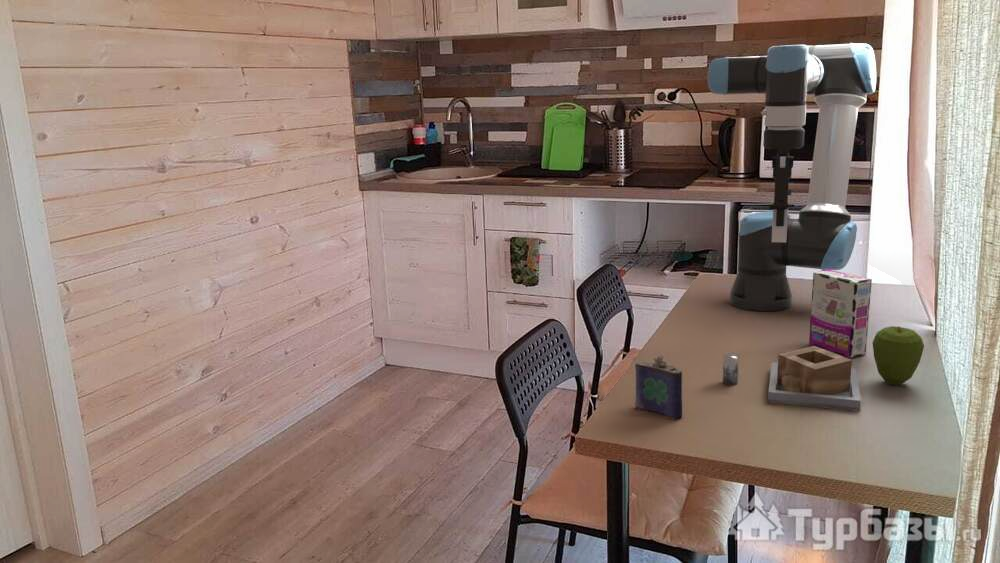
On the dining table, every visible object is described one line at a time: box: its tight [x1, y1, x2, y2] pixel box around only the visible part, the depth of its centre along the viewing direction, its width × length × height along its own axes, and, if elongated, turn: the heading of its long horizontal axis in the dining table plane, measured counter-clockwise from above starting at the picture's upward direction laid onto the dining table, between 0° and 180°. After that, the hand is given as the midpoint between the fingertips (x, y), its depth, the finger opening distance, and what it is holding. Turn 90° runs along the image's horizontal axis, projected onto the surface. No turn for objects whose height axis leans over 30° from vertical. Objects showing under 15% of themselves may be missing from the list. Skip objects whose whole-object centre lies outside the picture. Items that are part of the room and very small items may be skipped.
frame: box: [777, 345, 853, 395], centre depth 148 cm, size 9×11×6 cm
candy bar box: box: [808, 269, 873, 359], centre depth 167 cm, size 11×5×16 cm, turn 27°
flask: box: [635, 355, 683, 421], centre depth 142 cm, size 9×3×11 cm, turn 48°
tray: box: [767, 361, 862, 412], centre depth 149 cm, size 15×15×2 cm
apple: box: [872, 325, 925, 386], centre depth 149 cm, size 9×8×12 cm
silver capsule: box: [722, 353, 740, 386], centre depth 154 cm, size 3×3×6 cm
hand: (779, 234), depth 161 cm, fingers open, 13 cm apart
